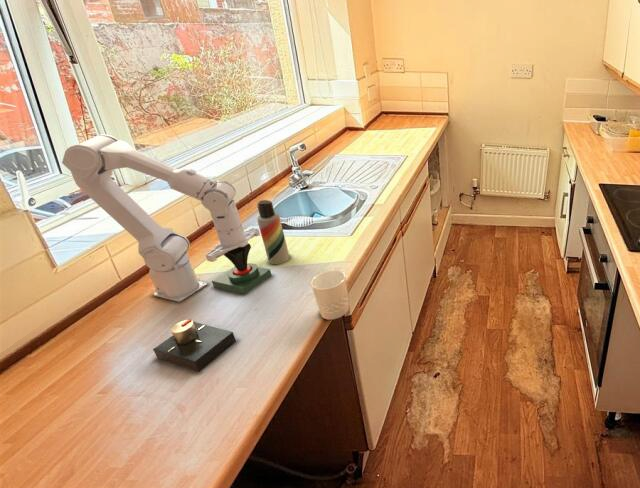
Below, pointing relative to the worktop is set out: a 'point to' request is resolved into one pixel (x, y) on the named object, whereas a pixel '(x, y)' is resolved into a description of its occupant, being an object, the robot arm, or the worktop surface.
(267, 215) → the lotion bottle
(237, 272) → the button
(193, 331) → the dial
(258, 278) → the button block
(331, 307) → the white cup
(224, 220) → the robot arm
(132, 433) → the worktop surface
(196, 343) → the dial panel
